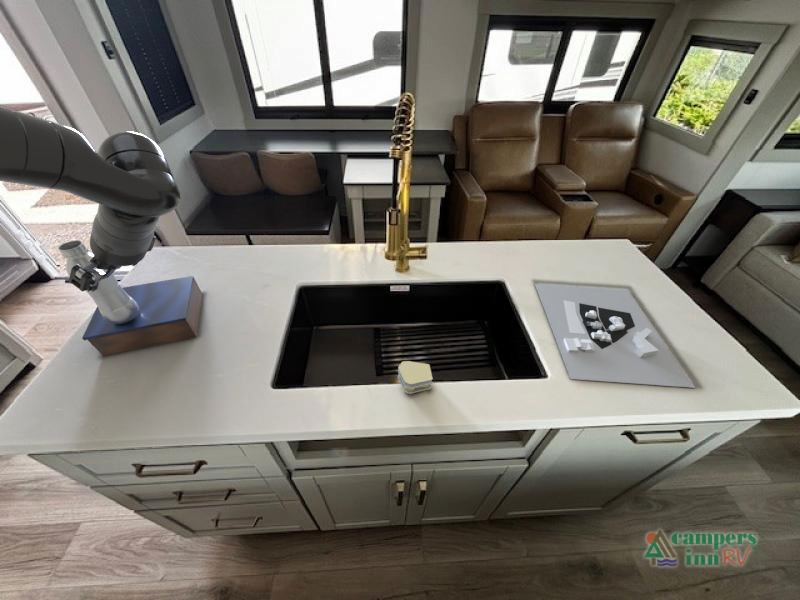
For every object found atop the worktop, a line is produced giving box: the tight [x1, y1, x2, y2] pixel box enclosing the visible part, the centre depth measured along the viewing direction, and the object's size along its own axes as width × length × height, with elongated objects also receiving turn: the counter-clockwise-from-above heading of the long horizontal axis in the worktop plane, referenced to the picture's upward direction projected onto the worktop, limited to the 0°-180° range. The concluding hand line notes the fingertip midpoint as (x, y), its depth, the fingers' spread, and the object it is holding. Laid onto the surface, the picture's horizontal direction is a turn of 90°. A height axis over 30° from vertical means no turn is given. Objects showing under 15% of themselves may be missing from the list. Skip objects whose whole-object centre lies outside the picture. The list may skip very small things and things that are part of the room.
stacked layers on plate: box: [397, 360, 434, 395], centre depth 72 cm, size 10×9×6 cm
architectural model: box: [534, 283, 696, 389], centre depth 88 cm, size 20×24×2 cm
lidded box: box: [87, 278, 203, 357], centre depth 83 cm, size 20×17×7 cm
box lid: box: [81, 275, 195, 341], centre depth 80 cm, size 20×17×1 cm
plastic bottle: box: [57, 240, 139, 324], centre depth 69 cm, size 6×7×20 cm
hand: (110, 274), depth 64 cm, fingers open, 8 cm apart
